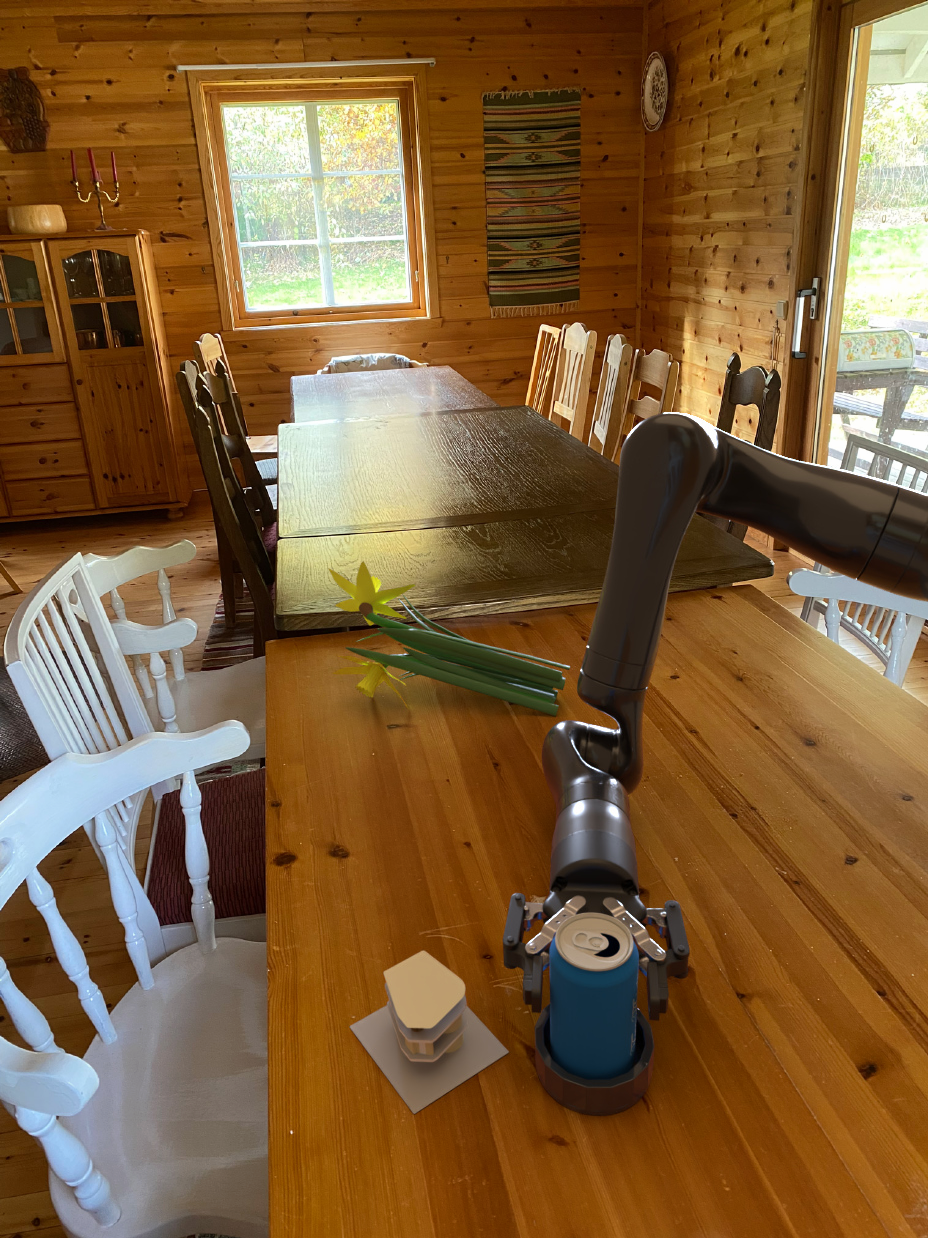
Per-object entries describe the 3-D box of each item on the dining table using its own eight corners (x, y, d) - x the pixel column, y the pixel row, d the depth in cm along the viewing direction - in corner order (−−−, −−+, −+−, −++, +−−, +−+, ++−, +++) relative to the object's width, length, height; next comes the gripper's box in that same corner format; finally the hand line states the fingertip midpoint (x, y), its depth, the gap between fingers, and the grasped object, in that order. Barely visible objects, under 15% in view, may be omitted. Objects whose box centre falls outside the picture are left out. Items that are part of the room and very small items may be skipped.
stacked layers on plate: (349, 1027, 76) (342, 977, 73) (439, 975, 80) (435, 927, 78) (414, 1114, 68) (408, 1062, 66) (509, 1052, 73) (507, 1001, 70)
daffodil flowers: (546, 754, 113) (280, 672, 116) (543, 750, 127) (306, 677, 130) (584, 624, 114) (321, 546, 117) (577, 634, 129) (342, 565, 132)
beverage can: (625, 1104, 67) (629, 983, 62) (540, 1080, 70) (538, 961, 65) (641, 1035, 73) (646, 919, 68) (562, 1015, 75) (562, 900, 70)
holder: (664, 1037, 73) (666, 1010, 72) (634, 1133, 66) (635, 1105, 65) (558, 1003, 77) (557, 976, 76) (518, 1091, 69) (517, 1063, 68)
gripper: (512, 824, 80) (495, 964, 66) (677, 830, 78) (698, 976, 64) (514, 891, 83) (499, 1039, 69) (673, 898, 82) (693, 1052, 67)
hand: (595, 1008), depth 66 cm, fingers open, 8 cm apart
